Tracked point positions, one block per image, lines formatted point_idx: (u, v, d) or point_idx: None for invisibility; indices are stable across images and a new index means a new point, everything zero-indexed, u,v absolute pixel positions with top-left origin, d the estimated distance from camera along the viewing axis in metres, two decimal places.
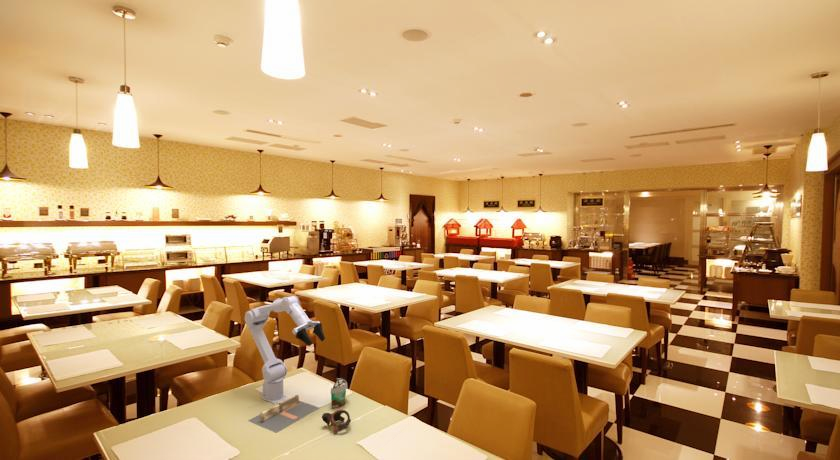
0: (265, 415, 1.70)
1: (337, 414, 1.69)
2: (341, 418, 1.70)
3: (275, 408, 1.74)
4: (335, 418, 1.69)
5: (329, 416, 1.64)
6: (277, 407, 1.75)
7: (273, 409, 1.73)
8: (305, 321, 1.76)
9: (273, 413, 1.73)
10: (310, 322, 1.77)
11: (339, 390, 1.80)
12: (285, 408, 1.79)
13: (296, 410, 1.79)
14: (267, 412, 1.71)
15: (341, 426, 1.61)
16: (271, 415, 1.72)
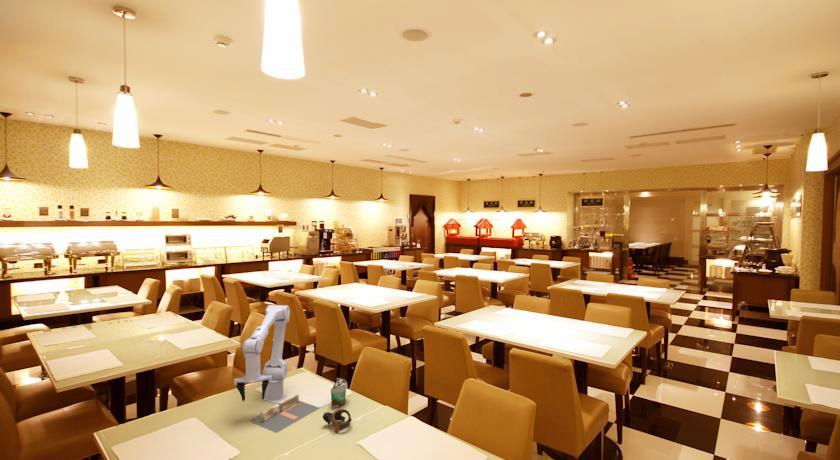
0: (265, 415, 1.70)
1: (338, 413, 1.69)
2: (342, 417, 1.70)
3: (275, 408, 1.74)
4: (336, 417, 1.69)
5: (330, 415, 1.65)
6: (277, 407, 1.75)
7: (273, 409, 1.73)
8: (249, 378, 1.67)
9: (273, 413, 1.73)
10: None
11: (339, 390, 1.80)
12: (285, 408, 1.79)
13: (296, 410, 1.79)
14: (267, 412, 1.71)
15: (342, 425, 1.61)
16: (271, 415, 1.72)
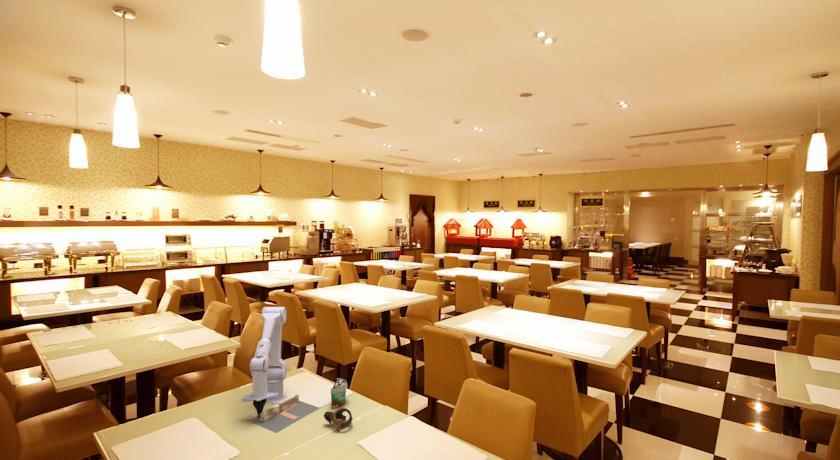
0: (265, 415, 1.70)
1: (339, 412, 1.70)
2: (343, 416, 1.71)
3: (275, 408, 1.74)
4: (337, 416, 1.70)
5: (331, 414, 1.65)
6: (277, 407, 1.75)
7: (273, 409, 1.73)
8: (256, 396, 1.68)
9: (273, 413, 1.73)
10: None
11: (339, 390, 1.80)
12: (285, 408, 1.79)
13: (296, 410, 1.79)
14: (267, 412, 1.71)
15: (343, 424, 1.62)
16: (271, 415, 1.72)
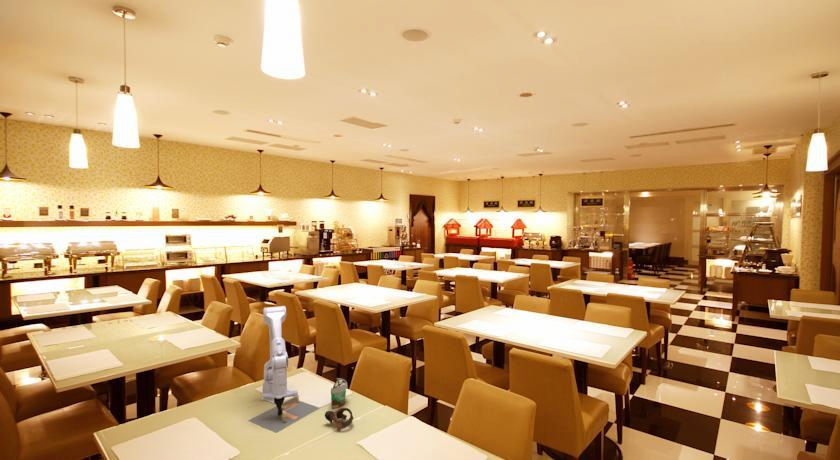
0: None
1: (339, 412, 1.70)
2: (343, 416, 1.72)
3: (282, 408, 1.75)
4: (337, 416, 1.71)
5: (332, 414, 1.66)
6: (282, 406, 1.75)
7: None
8: (276, 394, 1.69)
9: None
10: None
11: (339, 390, 1.80)
12: (285, 408, 1.79)
13: (296, 410, 1.79)
14: (284, 412, 1.71)
15: (344, 423, 1.63)
16: None
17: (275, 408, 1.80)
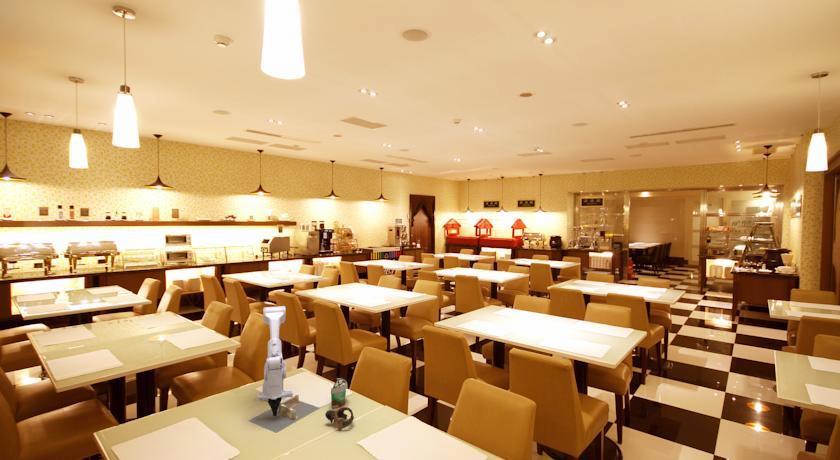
0: None
1: (340, 411, 1.71)
2: (344, 415, 1.72)
3: None
4: (338, 415, 1.71)
5: (333, 413, 1.66)
6: None
7: None
8: (271, 394, 1.69)
9: None
10: None
11: (339, 390, 1.80)
12: None
13: (296, 410, 1.79)
14: None
15: (345, 423, 1.63)
16: None
17: None
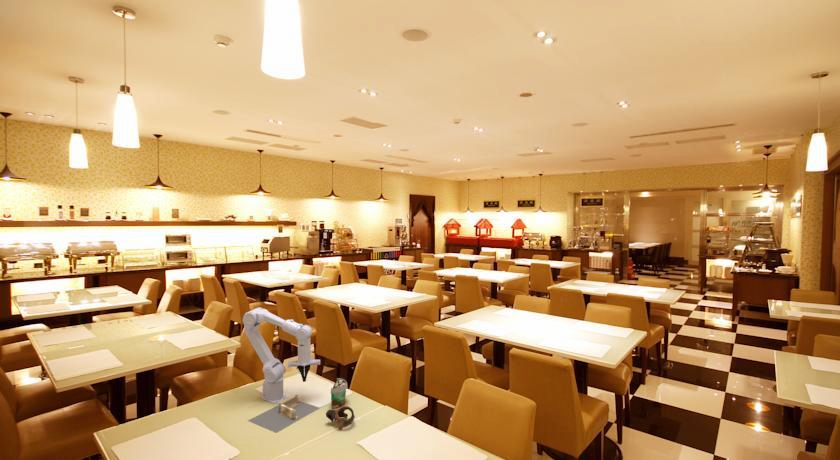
0: None
1: (341, 411, 1.71)
2: (344, 414, 1.73)
3: None
4: (339, 415, 1.72)
5: (333, 413, 1.67)
6: None
7: None
8: (301, 362, 1.85)
9: None
10: None
11: (339, 390, 1.80)
12: None
13: (296, 410, 1.79)
14: None
15: (346, 422, 1.64)
16: None
17: (275, 408, 1.80)
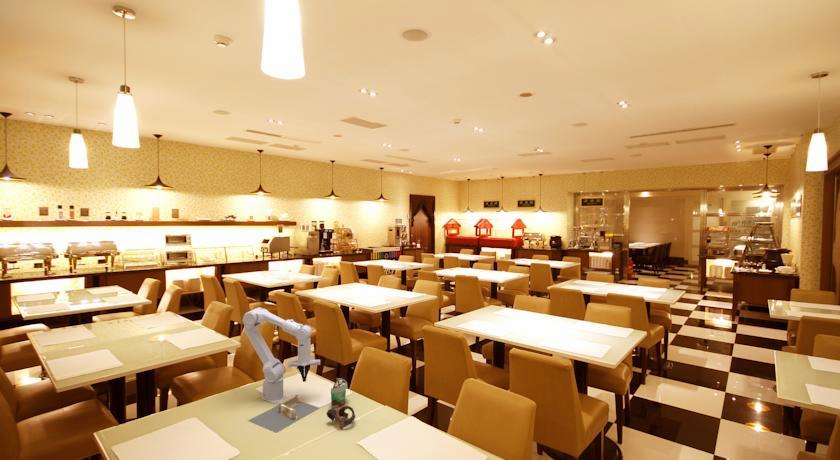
0: None
1: (341, 410, 1.72)
2: (345, 414, 1.73)
3: None
4: (339, 414, 1.72)
5: (334, 412, 1.67)
6: None
7: None
8: (301, 362, 1.85)
9: None
10: None
11: (339, 390, 1.80)
12: None
13: (296, 410, 1.79)
14: None
15: (346, 421, 1.64)
16: None
17: (275, 408, 1.80)
